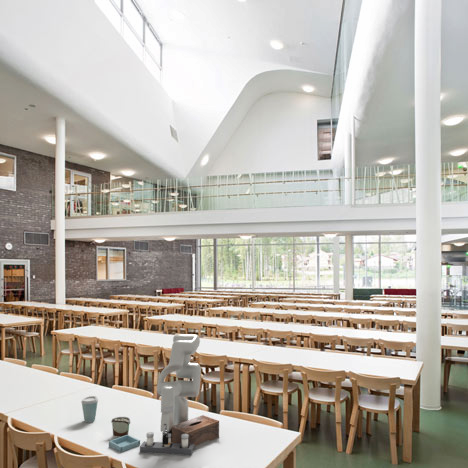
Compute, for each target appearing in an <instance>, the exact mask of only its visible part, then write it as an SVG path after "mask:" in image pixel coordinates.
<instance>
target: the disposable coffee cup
mask: <svg viewBox="0 0 468 468" xmlns="http://www.w3.org/2000/svg"><path fill="white" fill-rule="evenodd" d="M98 401H99V398H98V397H97V396H96V395H91V396H90V395H89V396H86V397H84V398H82V400H81V406H82V413H83V420H84V422H85V423H87V422H88V423H93V422H95V420H96V416H97V408H98Z"/></svg>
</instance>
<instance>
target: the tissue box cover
mask: <svg viewBox="0 0 468 468" xmlns="http://www.w3.org/2000/svg"><path fill="white" fill-rule="evenodd" d="M182 434H188V435H189V438H188V444H194V447H196V446H198V445H200V444H202V443H205V442H207V441H210V442H211V441H213V440H216V439H218V438H220V420H217V419H215V418H213V417H209V416H207V415H203V414H202V415H200V416H197V417H194V418H191V419H188V421H185V422H182V423H179V424H177V425H174V426H172V439H171V443H182V439H181V435H182Z"/></svg>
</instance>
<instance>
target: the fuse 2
mask: <svg viewBox="0 0 468 468" xmlns="http://www.w3.org/2000/svg"><path fill="white" fill-rule="evenodd" d="M188 438H189V435H188V434H182V435H181V439H182V448H188Z"/></svg>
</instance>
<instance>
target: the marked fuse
mask: <svg viewBox="0 0 468 468" xmlns="http://www.w3.org/2000/svg"><path fill="white" fill-rule="evenodd" d="M165 433H166V432H165ZM166 434H167V433H166ZM171 443H172V442H171V433H168V445H165V444H164V447H168V448H171Z"/></svg>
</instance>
